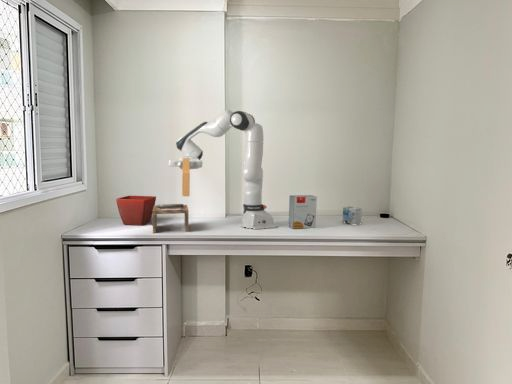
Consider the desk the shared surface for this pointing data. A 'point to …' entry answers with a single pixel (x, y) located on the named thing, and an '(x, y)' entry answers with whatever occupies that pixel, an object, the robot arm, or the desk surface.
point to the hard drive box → (302, 211)
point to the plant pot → (136, 209)
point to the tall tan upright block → (185, 177)
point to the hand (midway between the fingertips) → (185, 164)
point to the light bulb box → (352, 215)
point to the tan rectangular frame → (177, 207)
